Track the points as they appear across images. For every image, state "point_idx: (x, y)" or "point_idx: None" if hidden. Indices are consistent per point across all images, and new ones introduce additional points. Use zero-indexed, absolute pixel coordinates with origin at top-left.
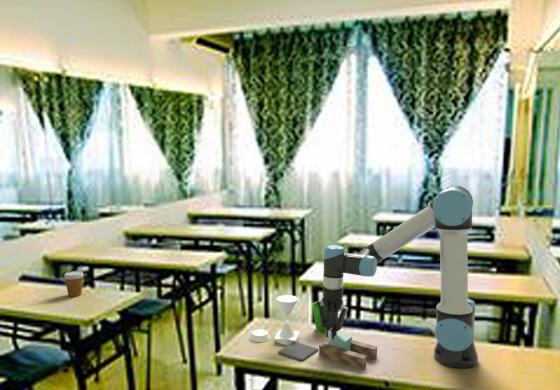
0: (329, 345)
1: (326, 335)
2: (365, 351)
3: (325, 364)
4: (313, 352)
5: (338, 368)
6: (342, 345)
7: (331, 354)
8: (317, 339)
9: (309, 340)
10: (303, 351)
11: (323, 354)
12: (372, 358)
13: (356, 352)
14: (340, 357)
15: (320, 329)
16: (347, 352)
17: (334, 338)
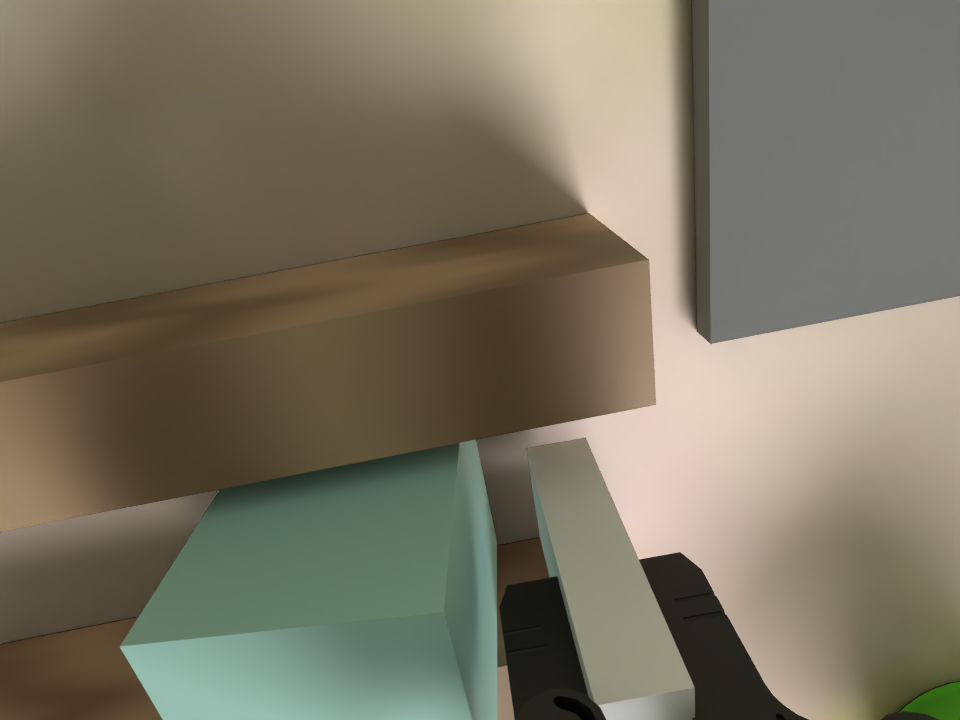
0: (490, 411)
1: (698, 577)
2: (74, 694)
3: (296, 42)
4: (703, 202)
5: (37, 98)
6: (238, 541)
7: (350, 283)
8: (875, 547)
9: (953, 462)
10: (858, 77)
11: (510, 239)
12: (5, 654)
13: None
14: (165, 317)
15: (958, 709)
16: (23, 442)
17: (426, 576)
